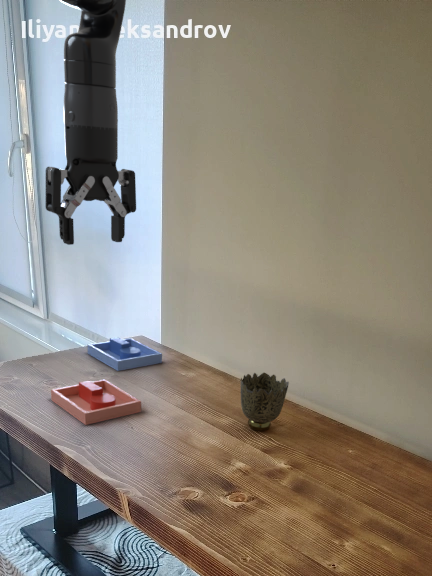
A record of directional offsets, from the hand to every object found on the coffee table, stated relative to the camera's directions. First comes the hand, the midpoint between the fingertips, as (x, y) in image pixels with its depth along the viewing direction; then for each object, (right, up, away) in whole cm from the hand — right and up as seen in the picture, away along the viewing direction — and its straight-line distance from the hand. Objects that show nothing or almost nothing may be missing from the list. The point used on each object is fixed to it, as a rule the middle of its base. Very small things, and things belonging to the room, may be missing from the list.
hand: (93, 242), depth 97 cm
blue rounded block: (+1, -12, +26) cm, 29 cm away
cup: (+26, -29, +3) cm, 39 cm away
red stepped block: (0, -25, +5) cm, 25 cm away
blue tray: (+1, -13, +27) cm, 30 cm away
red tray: (-1, -25, +5) cm, 25 cm away
